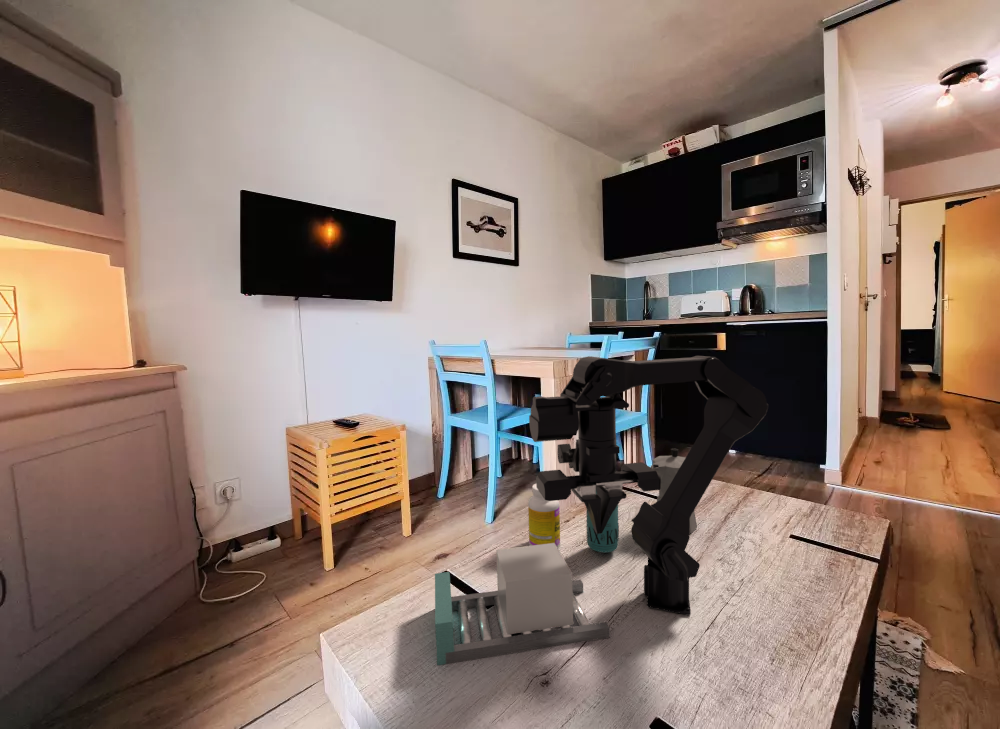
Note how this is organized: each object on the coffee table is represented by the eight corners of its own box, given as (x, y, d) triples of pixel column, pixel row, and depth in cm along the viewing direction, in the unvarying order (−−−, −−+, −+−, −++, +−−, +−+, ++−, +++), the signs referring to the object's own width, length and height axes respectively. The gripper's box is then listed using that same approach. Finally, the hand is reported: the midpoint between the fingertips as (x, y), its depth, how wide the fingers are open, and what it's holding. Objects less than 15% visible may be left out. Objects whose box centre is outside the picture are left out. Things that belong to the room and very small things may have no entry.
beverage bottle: (582, 544, 87) (580, 452, 85) (613, 542, 87) (611, 450, 86) (592, 561, 80) (590, 462, 79) (624, 559, 81) (623, 460, 79)
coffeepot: (668, 541, 87) (668, 458, 85) (637, 522, 96) (637, 447, 94) (720, 525, 93) (721, 448, 91) (687, 509, 101) (687, 438, 100)
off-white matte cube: (555, 587, 70) (554, 542, 69) (573, 624, 61) (572, 573, 60) (497, 595, 68) (496, 549, 68) (507, 634, 59) (505, 582, 59)
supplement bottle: (559, 554, 83) (558, 493, 82) (527, 552, 84) (525, 491, 83) (561, 538, 90) (559, 481, 89) (531, 536, 91) (529, 480, 90)
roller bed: (436, 608, 68) (434, 573, 68) (580, 588, 72) (580, 555, 72) (437, 665, 56) (435, 624, 56) (609, 637, 60) (609, 599, 60)
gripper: (628, 422, 74) (629, 506, 75) (527, 429, 71) (529, 516, 72) (662, 437, 63) (662, 535, 64) (544, 446, 60) (547, 549, 61)
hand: (598, 532), depth 65 cm, fingers closed
